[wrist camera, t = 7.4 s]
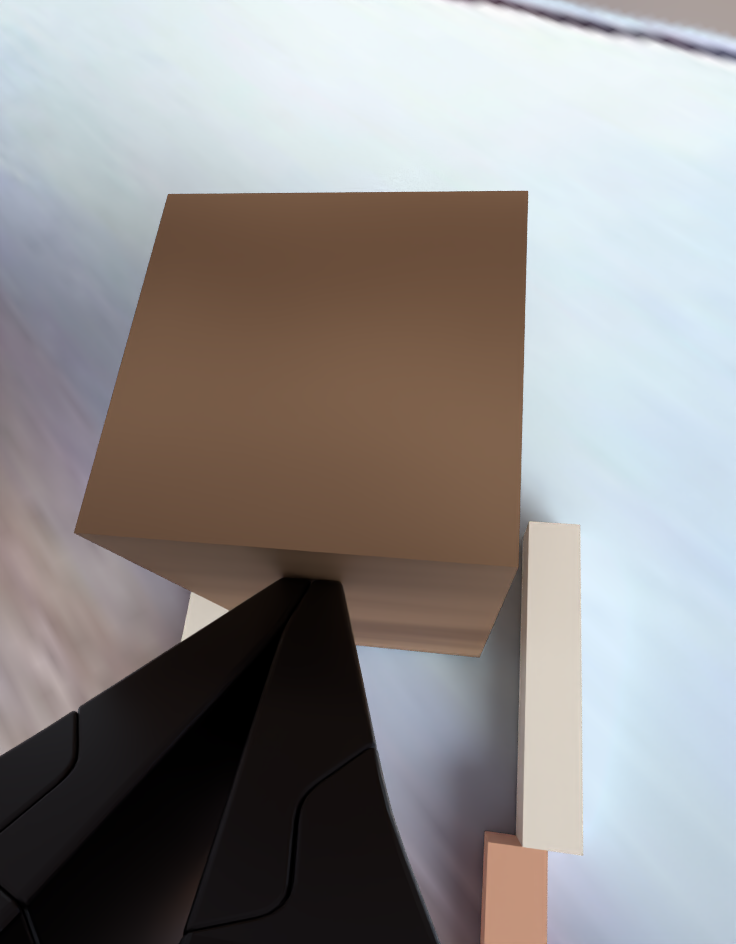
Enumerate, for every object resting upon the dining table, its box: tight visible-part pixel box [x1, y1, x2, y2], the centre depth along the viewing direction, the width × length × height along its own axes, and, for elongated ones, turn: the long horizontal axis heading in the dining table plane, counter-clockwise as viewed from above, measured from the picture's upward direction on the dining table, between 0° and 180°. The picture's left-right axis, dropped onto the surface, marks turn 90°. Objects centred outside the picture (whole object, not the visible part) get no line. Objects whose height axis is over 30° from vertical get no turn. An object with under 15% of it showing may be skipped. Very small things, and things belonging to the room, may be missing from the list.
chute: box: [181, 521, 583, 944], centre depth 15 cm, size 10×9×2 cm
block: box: [74, 191, 528, 657], centre depth 12 cm, size 5×5×10 cm
